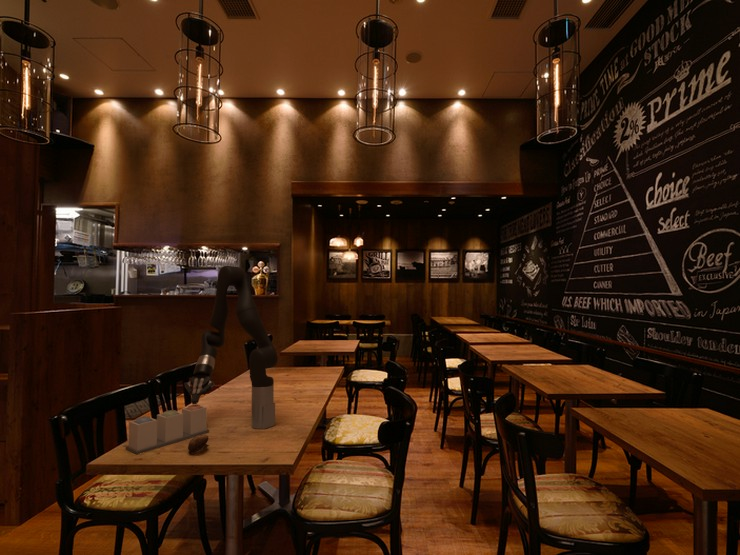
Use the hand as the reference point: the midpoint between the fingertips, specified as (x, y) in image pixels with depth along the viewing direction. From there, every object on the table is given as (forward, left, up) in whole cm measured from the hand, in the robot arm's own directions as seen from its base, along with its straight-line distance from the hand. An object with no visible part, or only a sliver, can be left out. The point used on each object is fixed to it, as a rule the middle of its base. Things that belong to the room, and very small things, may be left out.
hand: (194, 403), depth 162 cm
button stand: (0, +10, -12) cm, 16 cm away
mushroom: (-20, +10, -12) cm, 25 cm away
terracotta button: (0, 0, -4) cm, 4 cm away
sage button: (0, +10, -4) cm, 11 cm away
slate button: (0, +20, -4) cm, 20 cm away
